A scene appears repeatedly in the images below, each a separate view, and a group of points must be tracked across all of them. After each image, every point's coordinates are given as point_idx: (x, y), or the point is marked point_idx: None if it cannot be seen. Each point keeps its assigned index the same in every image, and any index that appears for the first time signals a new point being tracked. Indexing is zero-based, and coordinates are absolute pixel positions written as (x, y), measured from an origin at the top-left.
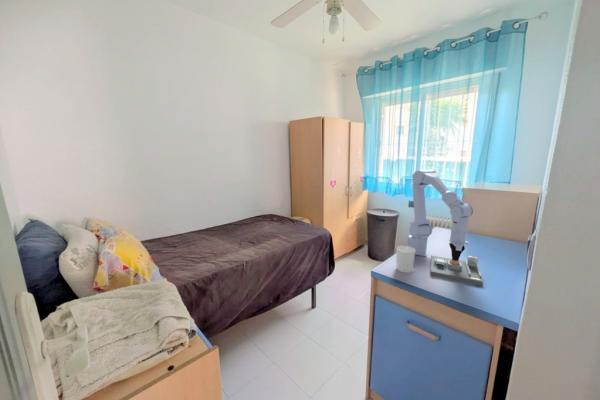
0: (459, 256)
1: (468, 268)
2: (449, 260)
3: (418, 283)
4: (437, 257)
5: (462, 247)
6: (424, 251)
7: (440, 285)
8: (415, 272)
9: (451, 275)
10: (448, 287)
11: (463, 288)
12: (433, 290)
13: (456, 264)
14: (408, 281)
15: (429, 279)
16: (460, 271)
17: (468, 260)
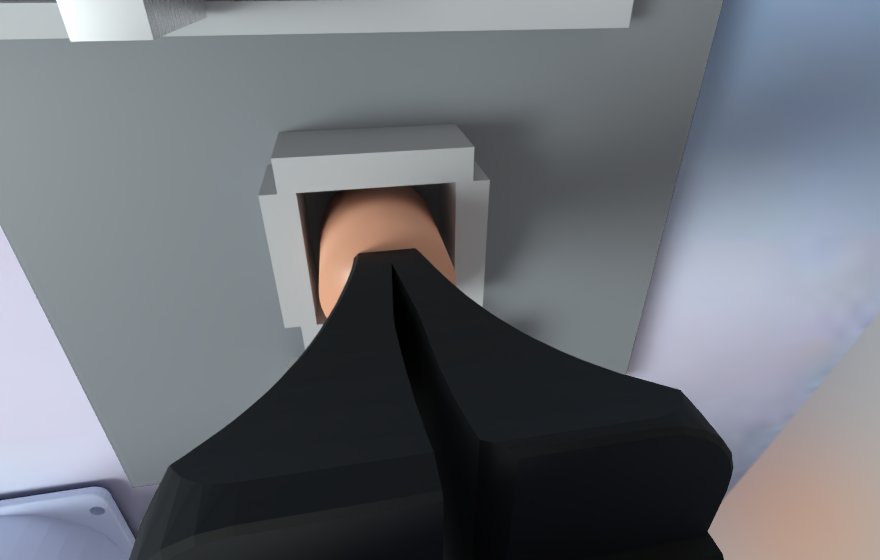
0: (461, 292)
1: (410, 12)
2: (314, 327)
3: (750, 419)
4: (142, 424)
5: (609, 501)
6: (49, 557)
7: (762, 292)
8: None
9: (659, 243)
10: (791, 232)
11: (800, 94)
12: (844, 327)
13: (436, 230)
14: None
15: (670, 374)
16: (500, 138)
17: (182, 11)
